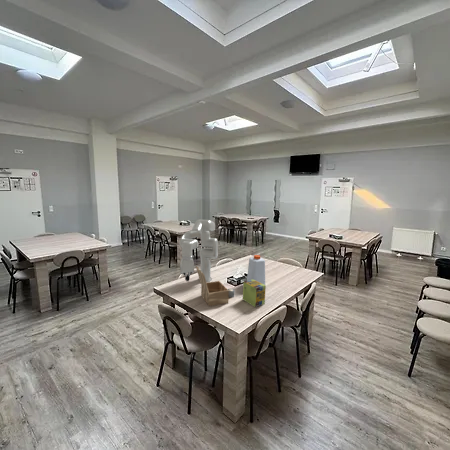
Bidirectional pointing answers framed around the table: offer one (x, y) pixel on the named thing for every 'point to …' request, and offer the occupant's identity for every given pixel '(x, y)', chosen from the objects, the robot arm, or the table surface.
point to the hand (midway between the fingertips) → (187, 280)
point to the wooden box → (215, 293)
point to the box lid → (202, 279)
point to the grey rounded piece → (231, 293)
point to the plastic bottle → (256, 269)
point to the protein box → (254, 292)
